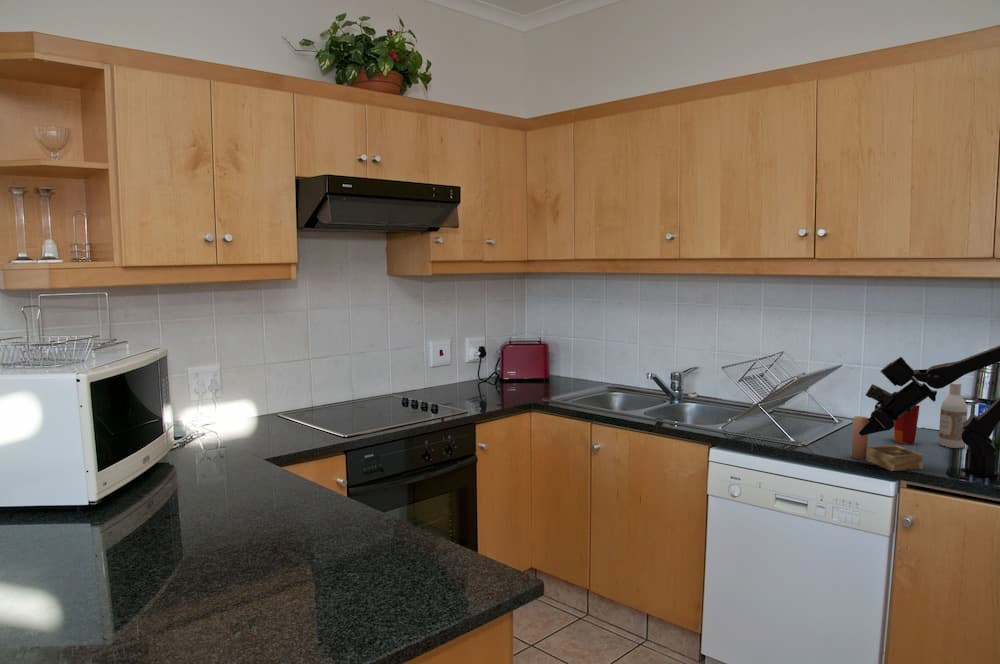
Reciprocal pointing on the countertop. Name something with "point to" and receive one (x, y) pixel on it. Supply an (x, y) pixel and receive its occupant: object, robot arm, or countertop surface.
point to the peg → (859, 438)
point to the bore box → (894, 458)
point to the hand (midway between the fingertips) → (861, 430)
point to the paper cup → (907, 426)
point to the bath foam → (952, 418)
